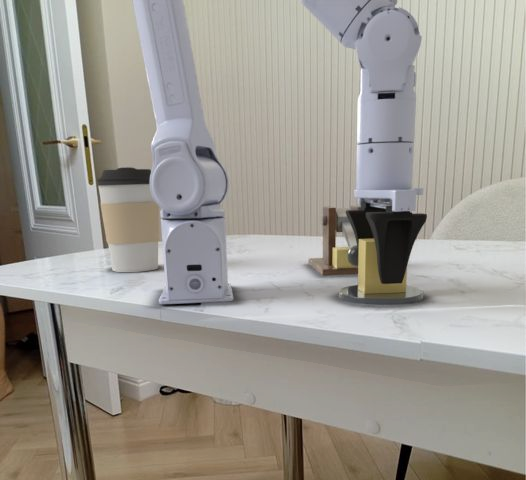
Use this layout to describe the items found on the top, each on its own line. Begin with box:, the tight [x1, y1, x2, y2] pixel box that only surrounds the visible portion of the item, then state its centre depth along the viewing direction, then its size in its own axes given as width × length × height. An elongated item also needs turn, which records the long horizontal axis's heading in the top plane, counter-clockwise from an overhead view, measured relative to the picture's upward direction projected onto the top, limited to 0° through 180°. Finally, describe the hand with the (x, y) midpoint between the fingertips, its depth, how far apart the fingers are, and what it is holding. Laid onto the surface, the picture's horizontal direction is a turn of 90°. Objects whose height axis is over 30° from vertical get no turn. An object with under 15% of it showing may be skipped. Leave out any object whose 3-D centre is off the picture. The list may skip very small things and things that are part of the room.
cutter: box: [307, 205, 361, 277], centre depth 84 cm, size 12×8×9 cm, turn 5°
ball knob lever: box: [335, 207, 359, 267], centre depth 79 cm, size 13×3×3 cm, turn 5°
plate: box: [338, 284, 424, 306], centre depth 64 cm, size 9×9×1 cm
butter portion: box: [357, 239, 408, 294], centre depth 63 cm, size 3×4×6 cm, turn 95°
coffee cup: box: [96, 166, 160, 273], centre depth 89 cm, size 9×9×15 cm
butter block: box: [332, 246, 358, 268], centre depth 81 cm, size 3×4×2 cm
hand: (381, 277), depth 64 cm, fingers open, 7 cm apart
